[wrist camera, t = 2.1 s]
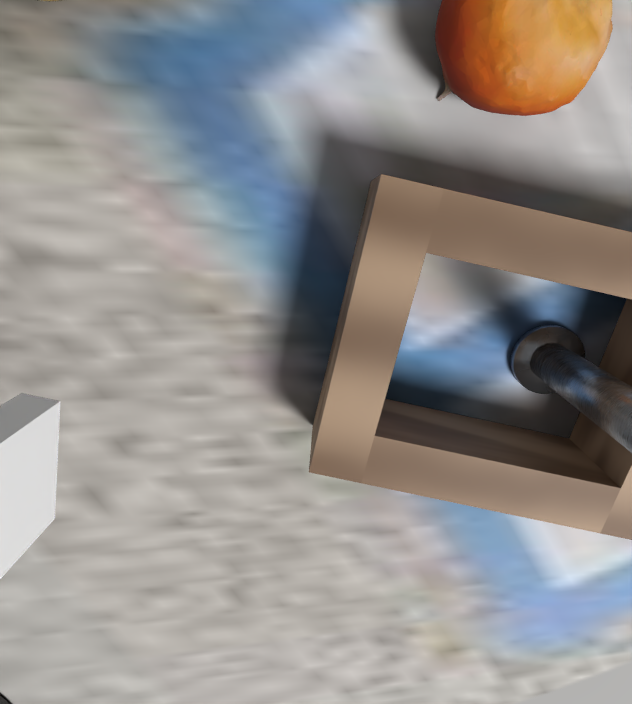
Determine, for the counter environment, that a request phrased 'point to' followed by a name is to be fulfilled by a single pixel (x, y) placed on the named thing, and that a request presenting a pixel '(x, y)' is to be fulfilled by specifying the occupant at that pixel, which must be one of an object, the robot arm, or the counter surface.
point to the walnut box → (452, 429)
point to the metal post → (573, 379)
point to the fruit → (520, 51)
